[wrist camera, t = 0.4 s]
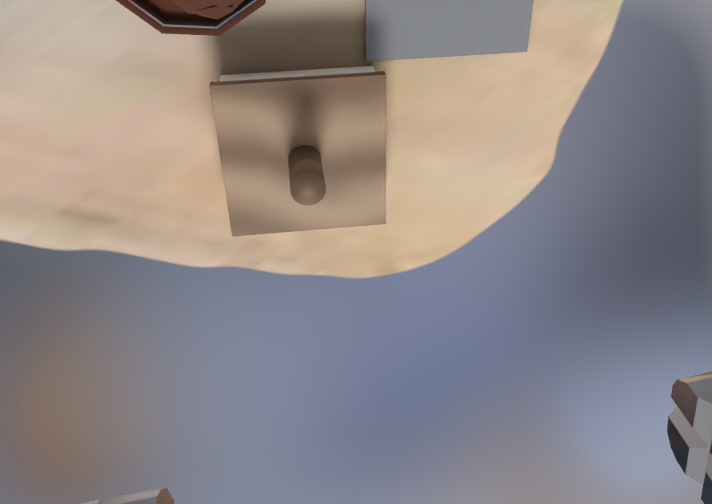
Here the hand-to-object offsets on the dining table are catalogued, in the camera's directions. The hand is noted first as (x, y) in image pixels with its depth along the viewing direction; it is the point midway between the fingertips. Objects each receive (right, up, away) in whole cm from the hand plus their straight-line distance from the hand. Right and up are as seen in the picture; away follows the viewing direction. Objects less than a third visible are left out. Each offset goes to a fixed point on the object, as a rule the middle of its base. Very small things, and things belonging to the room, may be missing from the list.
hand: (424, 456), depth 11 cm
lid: (-5, +11, +43) cm, 44 cm away
